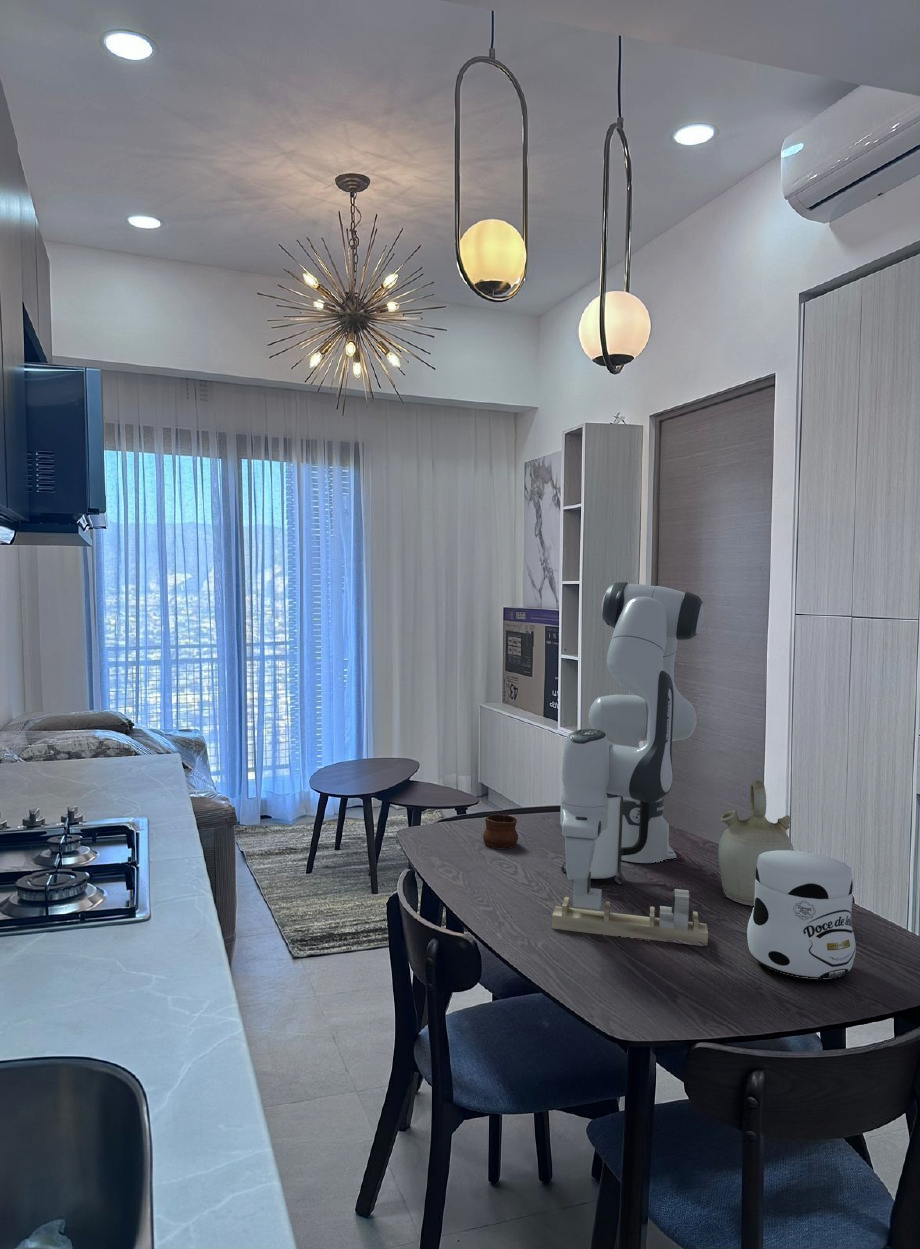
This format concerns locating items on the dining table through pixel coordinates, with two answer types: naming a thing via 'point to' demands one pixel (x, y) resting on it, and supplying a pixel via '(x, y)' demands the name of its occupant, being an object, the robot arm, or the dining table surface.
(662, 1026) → the dining table surface
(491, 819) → the ceramic pot
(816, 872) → the milk container
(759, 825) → the jug
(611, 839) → the coffee press
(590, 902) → the grey block
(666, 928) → the rail
